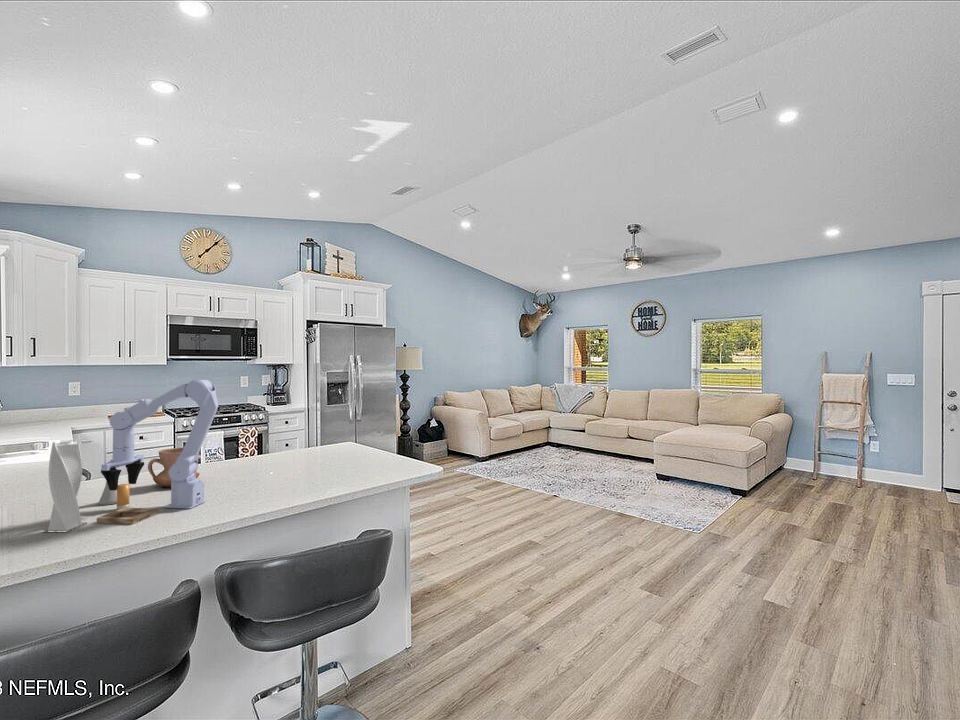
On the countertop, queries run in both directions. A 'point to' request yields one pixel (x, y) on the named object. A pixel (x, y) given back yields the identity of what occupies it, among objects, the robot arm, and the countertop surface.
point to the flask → (108, 496)
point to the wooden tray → (127, 515)
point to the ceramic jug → (166, 465)
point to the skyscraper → (65, 485)
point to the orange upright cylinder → (123, 496)
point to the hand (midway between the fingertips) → (123, 486)
